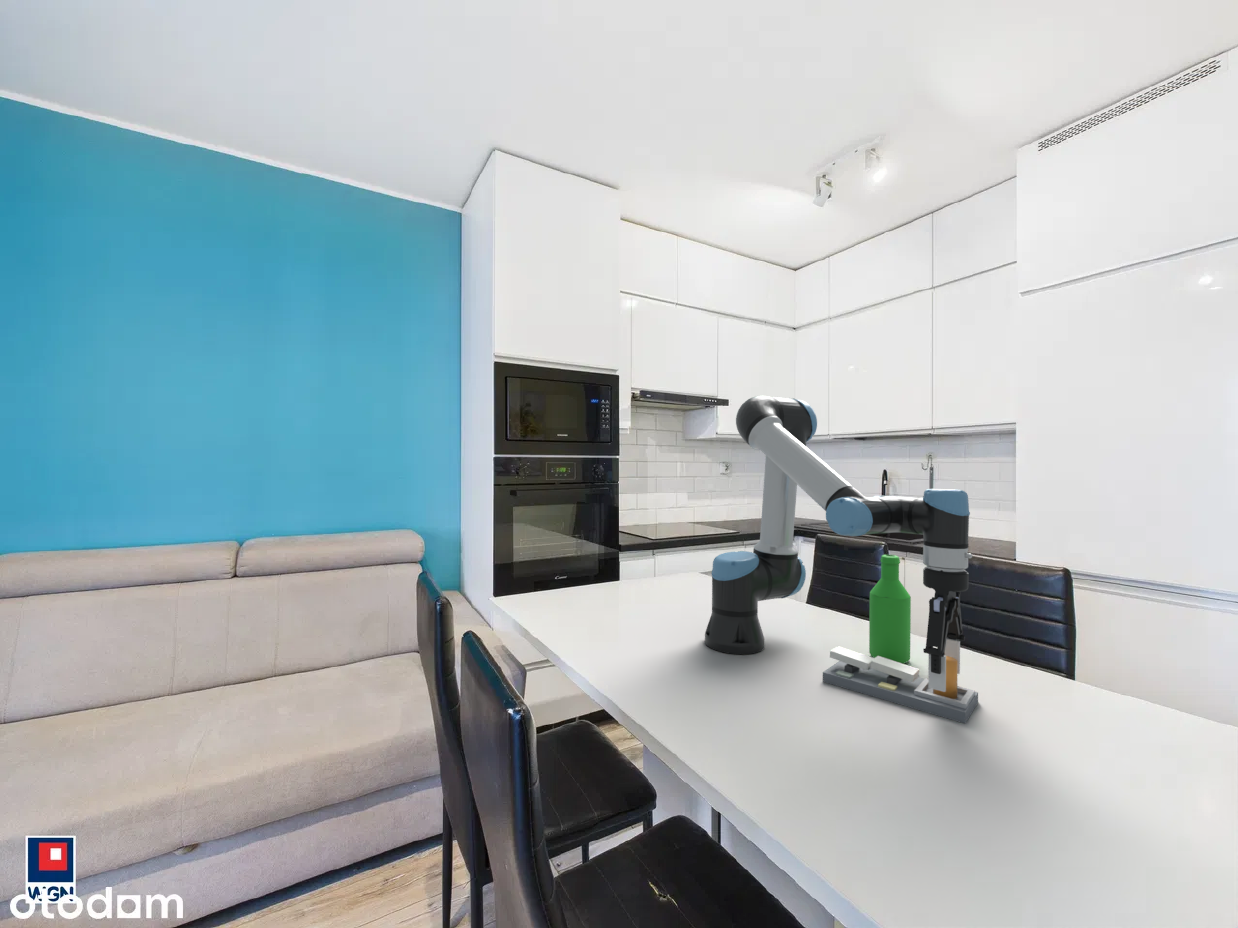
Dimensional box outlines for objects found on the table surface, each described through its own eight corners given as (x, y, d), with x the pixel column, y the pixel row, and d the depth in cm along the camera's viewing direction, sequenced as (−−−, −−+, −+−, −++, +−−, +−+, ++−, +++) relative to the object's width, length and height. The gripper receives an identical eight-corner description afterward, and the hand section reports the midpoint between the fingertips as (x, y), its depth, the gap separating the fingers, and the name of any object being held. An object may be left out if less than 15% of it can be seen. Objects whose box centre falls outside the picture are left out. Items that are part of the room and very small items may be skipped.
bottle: (906, 668, 120) (907, 560, 120) (865, 659, 125) (866, 555, 125) (912, 657, 127) (913, 555, 127) (873, 649, 132) (874, 551, 132)
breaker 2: (870, 667, 109) (870, 660, 109) (877, 662, 112) (877, 655, 112) (912, 682, 104) (913, 675, 104) (918, 676, 107) (919, 669, 107)
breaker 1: (829, 657, 115) (830, 650, 115) (837, 652, 118) (838, 645, 118) (867, 670, 109) (868, 663, 109) (874, 665, 113) (875, 658, 113)
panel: (822, 681, 112) (822, 666, 112) (843, 666, 121) (843, 652, 121) (965, 723, 94) (965, 705, 94) (978, 702, 103) (978, 686, 103)
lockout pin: (930, 694, 102) (931, 658, 102) (935, 688, 104) (936, 653, 104) (954, 701, 99) (955, 664, 99) (959, 694, 102) (959, 658, 102)
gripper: (954, 579, 91) (953, 705, 91) (980, 563, 108) (979, 668, 108) (906, 573, 96) (905, 692, 96) (938, 558, 113) (937, 659, 113)
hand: (944, 680), depth 102 cm, fingers open, 11 cm apart
